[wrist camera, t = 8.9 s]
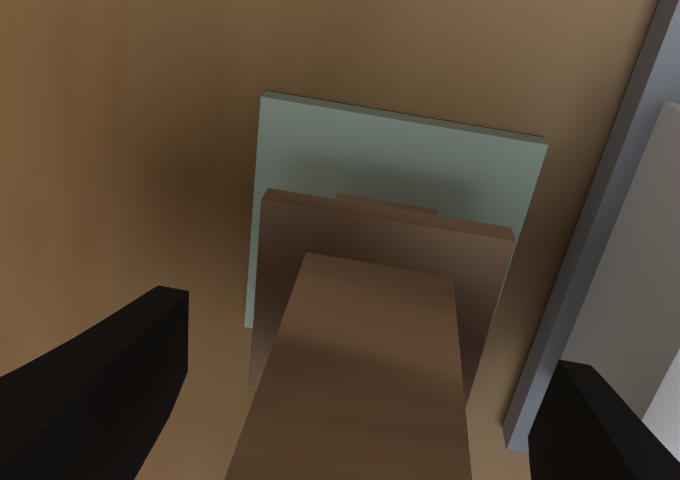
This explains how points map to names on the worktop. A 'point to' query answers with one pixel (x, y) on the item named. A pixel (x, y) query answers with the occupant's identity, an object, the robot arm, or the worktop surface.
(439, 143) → the mat
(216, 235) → the worktop surface
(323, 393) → the brown block
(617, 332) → the breaker housing
